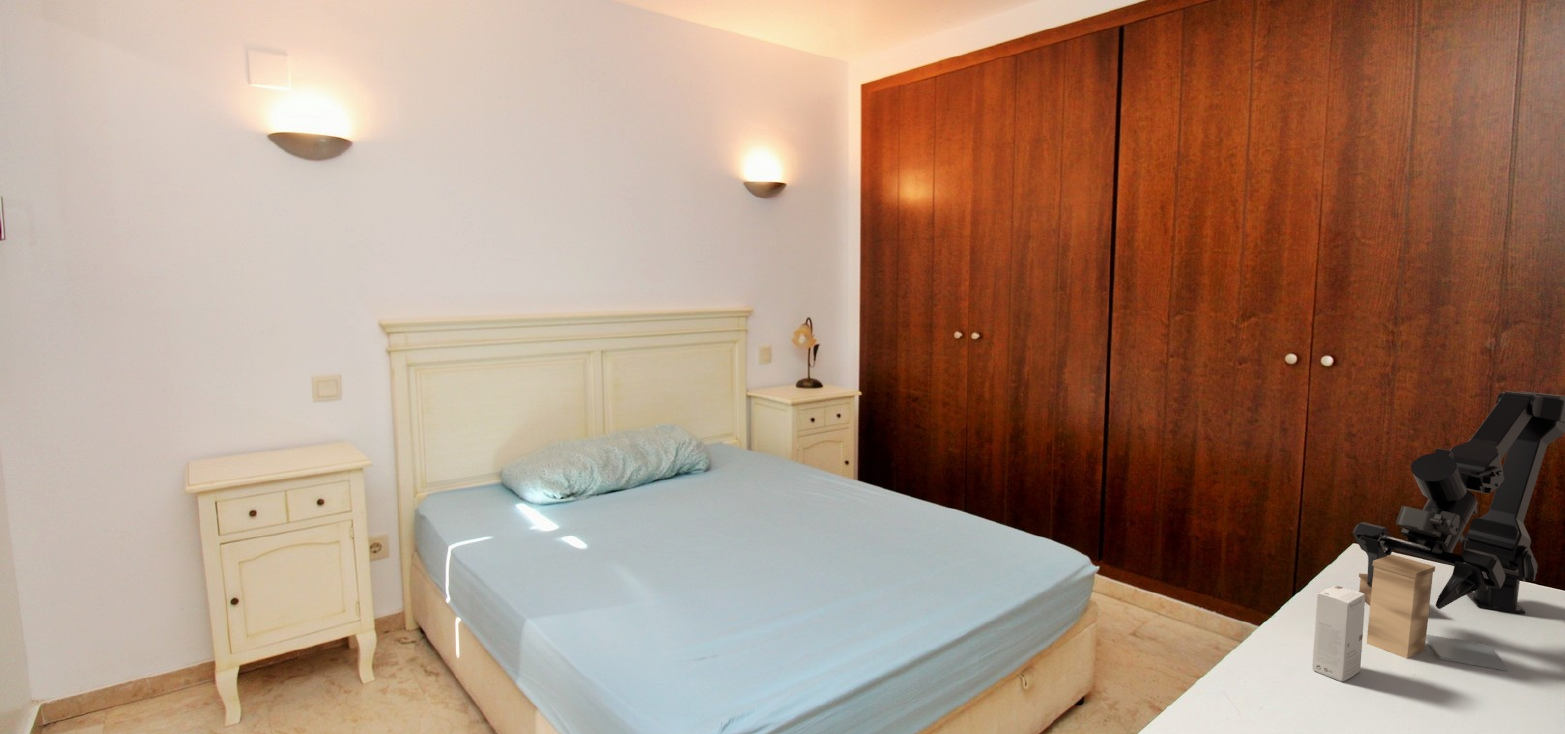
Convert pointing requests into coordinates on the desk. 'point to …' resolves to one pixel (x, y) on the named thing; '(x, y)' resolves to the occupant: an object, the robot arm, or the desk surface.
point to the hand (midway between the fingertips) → (1402, 595)
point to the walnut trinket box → (1365, 588)
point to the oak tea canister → (1399, 605)
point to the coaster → (1465, 652)
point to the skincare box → (1338, 632)
